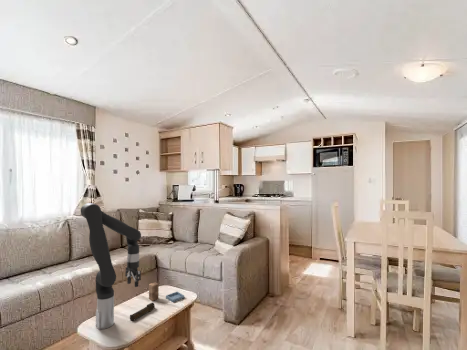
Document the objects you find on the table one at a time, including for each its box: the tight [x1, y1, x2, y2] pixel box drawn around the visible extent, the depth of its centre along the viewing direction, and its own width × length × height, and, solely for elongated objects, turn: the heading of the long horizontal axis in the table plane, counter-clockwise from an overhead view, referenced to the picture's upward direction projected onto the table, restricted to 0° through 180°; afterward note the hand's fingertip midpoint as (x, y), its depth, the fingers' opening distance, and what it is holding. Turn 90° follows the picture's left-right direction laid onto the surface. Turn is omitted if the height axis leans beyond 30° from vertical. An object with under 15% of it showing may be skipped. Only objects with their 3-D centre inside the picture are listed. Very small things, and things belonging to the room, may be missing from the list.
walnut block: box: [148, 282, 160, 302], centre depth 189 cm, size 5×5×11 cm
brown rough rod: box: [129, 302, 156, 322], centre depth 168 cm, size 19×4×5 cm, turn 148°
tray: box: [165, 291, 185, 303], centre depth 190 cm, size 10×10×2 cm
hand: (132, 285), depth 167 cm, fingers open, 8 cm apart
